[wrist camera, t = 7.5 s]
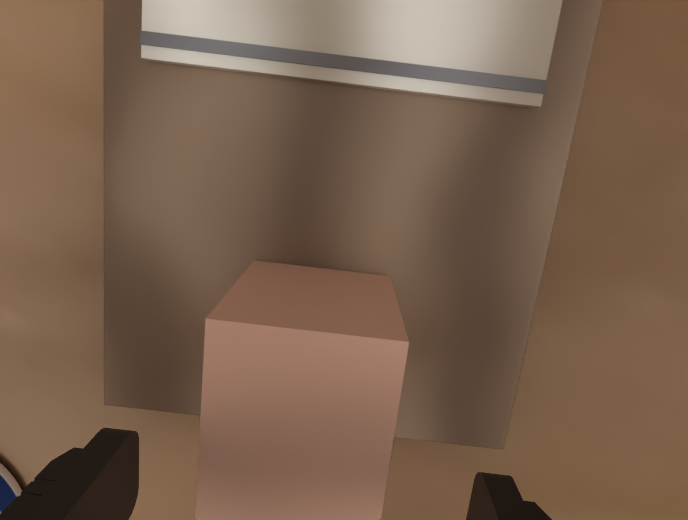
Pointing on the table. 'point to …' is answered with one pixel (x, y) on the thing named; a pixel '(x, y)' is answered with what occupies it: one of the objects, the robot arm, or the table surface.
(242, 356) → the stub
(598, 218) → the table surface
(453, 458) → the table surface
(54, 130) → the table surface
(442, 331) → the board
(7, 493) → the blue supplement bottle
